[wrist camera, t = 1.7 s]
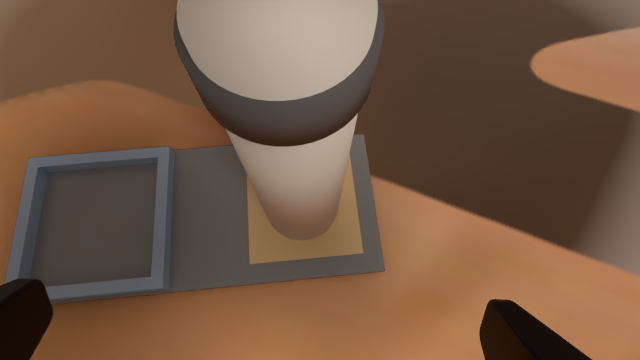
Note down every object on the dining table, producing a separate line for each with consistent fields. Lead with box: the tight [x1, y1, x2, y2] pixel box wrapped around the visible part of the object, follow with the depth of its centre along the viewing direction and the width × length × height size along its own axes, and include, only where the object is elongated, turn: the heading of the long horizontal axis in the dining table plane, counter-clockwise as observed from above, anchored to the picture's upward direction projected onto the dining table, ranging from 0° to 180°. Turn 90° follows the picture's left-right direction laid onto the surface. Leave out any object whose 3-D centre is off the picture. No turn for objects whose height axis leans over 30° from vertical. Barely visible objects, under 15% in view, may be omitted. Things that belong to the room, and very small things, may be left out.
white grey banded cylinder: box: [174, 0, 384, 240], centre depth 14 cm, size 4×4×14 cm
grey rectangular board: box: [4, 134, 385, 304], centre depth 20 cm, size 19×8×1 cm, turn 96°
